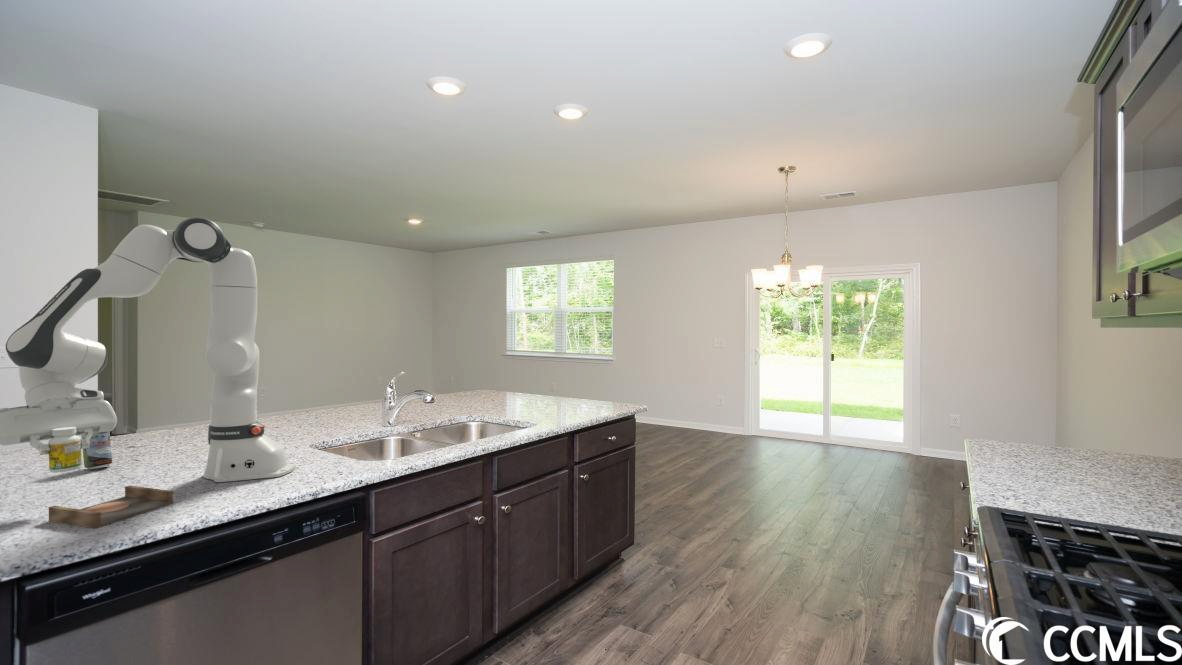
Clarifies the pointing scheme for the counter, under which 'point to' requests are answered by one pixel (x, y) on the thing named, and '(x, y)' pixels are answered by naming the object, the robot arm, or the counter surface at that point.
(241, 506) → the counter surface
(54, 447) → the supplement bottle
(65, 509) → the walled bay
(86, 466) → the beverage can
